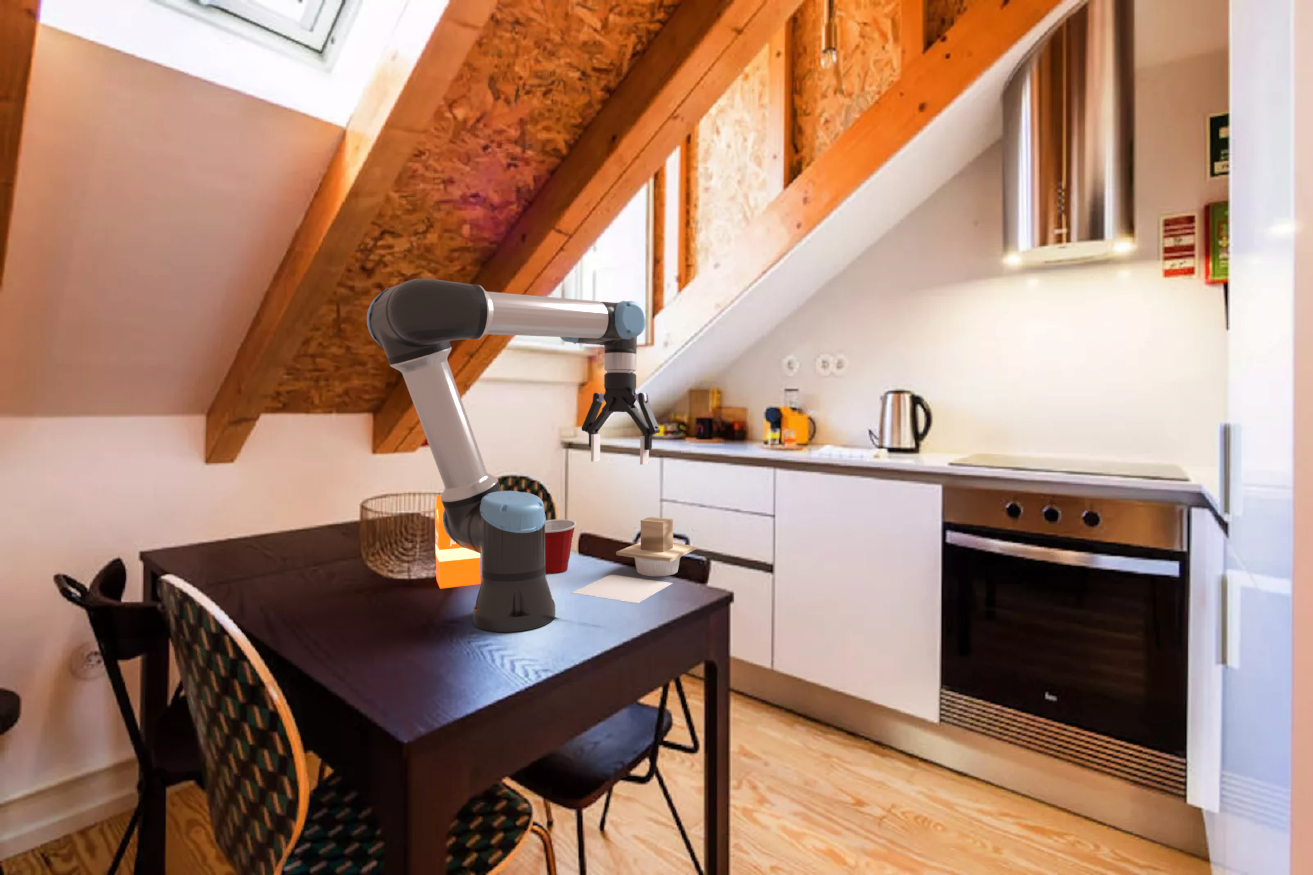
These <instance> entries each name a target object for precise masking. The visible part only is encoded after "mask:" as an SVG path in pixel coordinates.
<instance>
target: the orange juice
mask: <svg viewBox="0 0 1313 875" xmlns="http://www.w3.org/2000/svg"><path fill="white" fill-rule="evenodd" d="M435 498H436V501H435V517H434V525H435V526H434V527H435V530H434V531H435V534H434V535H435V544H434V545H435V546H434V548H435V567H436V568H435V569H436V570H435V574H436V582H437V585H438V587H439V589H440V590H441V589H449V588H457V587H465V586H467V587H468V586H472V585H473V586H474V585H481V583H482V579H481V554H480V553H478V552H475V551H473V550H469V549H467V548H463V547H462V546H460V545H458V544H457V543H456V542H454V541H453V540H452V539H451V538H450V537H449V536H448V534H447V533H446V531H445V528H444V525H443V512H444V510H445V509H444V506H443V504H442V501H441V495H436V496H435Z"/></svg>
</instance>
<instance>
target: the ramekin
mask: <svg viewBox="0 0 1313 875" xmlns="http://www.w3.org/2000/svg"><path fill="white" fill-rule="evenodd" d="M681 557H682V556H681ZM681 557H679V558H677V559H675V560H673V561H671V562H666V561H658V560H650V559H642V558H634V563H635V569H636V573H638V574H639V575H643V576H647V577H666V576H671V575H675V574H677V573H678V571H679V566H680V560H681Z"/></svg>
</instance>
